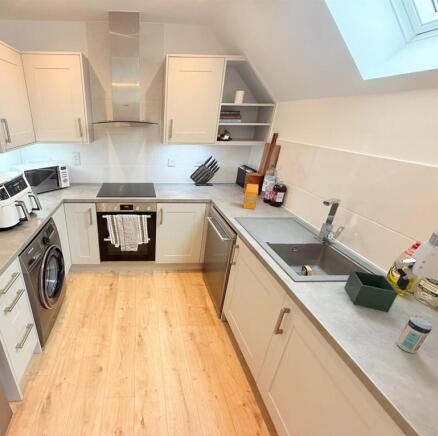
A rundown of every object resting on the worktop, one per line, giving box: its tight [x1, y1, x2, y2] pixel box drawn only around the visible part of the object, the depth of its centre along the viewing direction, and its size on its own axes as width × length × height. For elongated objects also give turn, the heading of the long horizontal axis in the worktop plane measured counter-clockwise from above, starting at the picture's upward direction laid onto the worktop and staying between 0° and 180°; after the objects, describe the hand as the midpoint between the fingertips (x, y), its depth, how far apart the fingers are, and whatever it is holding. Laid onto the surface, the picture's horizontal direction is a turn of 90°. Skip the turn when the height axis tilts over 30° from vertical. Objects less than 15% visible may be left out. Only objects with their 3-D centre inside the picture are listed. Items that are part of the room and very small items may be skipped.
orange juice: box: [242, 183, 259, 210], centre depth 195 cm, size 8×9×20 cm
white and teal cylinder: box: [396, 315, 433, 354], centre depth 76 cm, size 5×5×12 cm
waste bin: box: [343, 269, 399, 313], centre depth 97 cm, size 11×11×10 cm
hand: (421, 292), depth 71 cm, fingers open, 9 cm apart
